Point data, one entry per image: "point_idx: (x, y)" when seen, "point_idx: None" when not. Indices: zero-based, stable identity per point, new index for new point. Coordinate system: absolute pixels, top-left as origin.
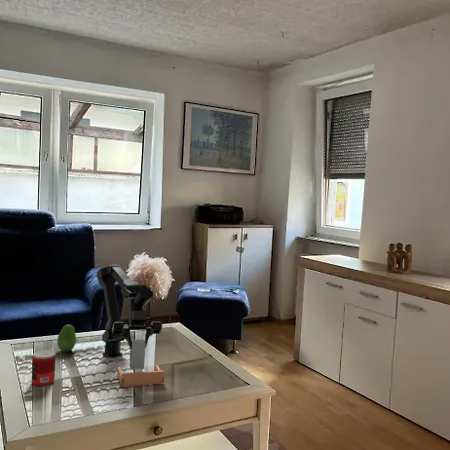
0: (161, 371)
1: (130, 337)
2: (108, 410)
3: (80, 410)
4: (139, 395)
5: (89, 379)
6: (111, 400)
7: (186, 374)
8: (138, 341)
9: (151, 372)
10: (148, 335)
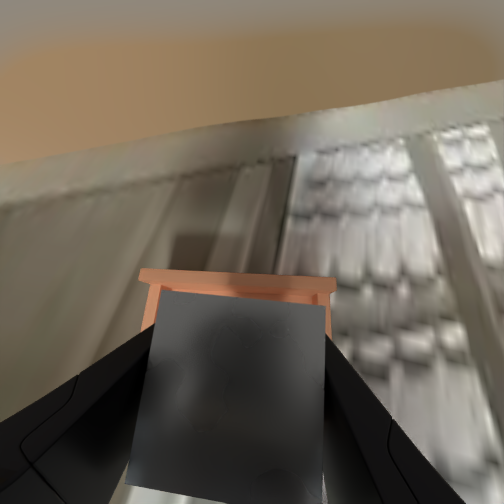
0: (154, 269)
1: (363, 441)
2: (367, 148)
3: (445, 160)
4: (269, 214)
5: (455, 405)
6: (358, 199)
7: (43, 353)
8: (230, 364)
9: (199, 271)
10: (16, 424)
